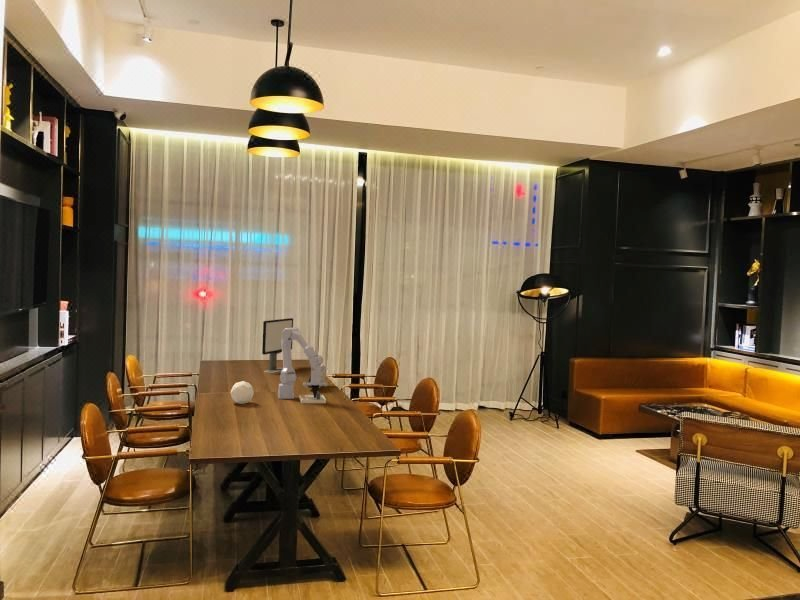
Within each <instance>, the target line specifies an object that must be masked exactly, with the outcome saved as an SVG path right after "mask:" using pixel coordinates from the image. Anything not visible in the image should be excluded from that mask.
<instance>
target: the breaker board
mask: <svg viewBox="0 0 800 600" xmlns="http://www.w3.org/2000/svg"><path fill="white" fill-rule="evenodd" d="M325 397H326V396H324V394H320V399H316V398H314V395H313V394H299V395H298V398H299V401H300V403H301V404H327V399H326V398H325Z"/></svg>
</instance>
